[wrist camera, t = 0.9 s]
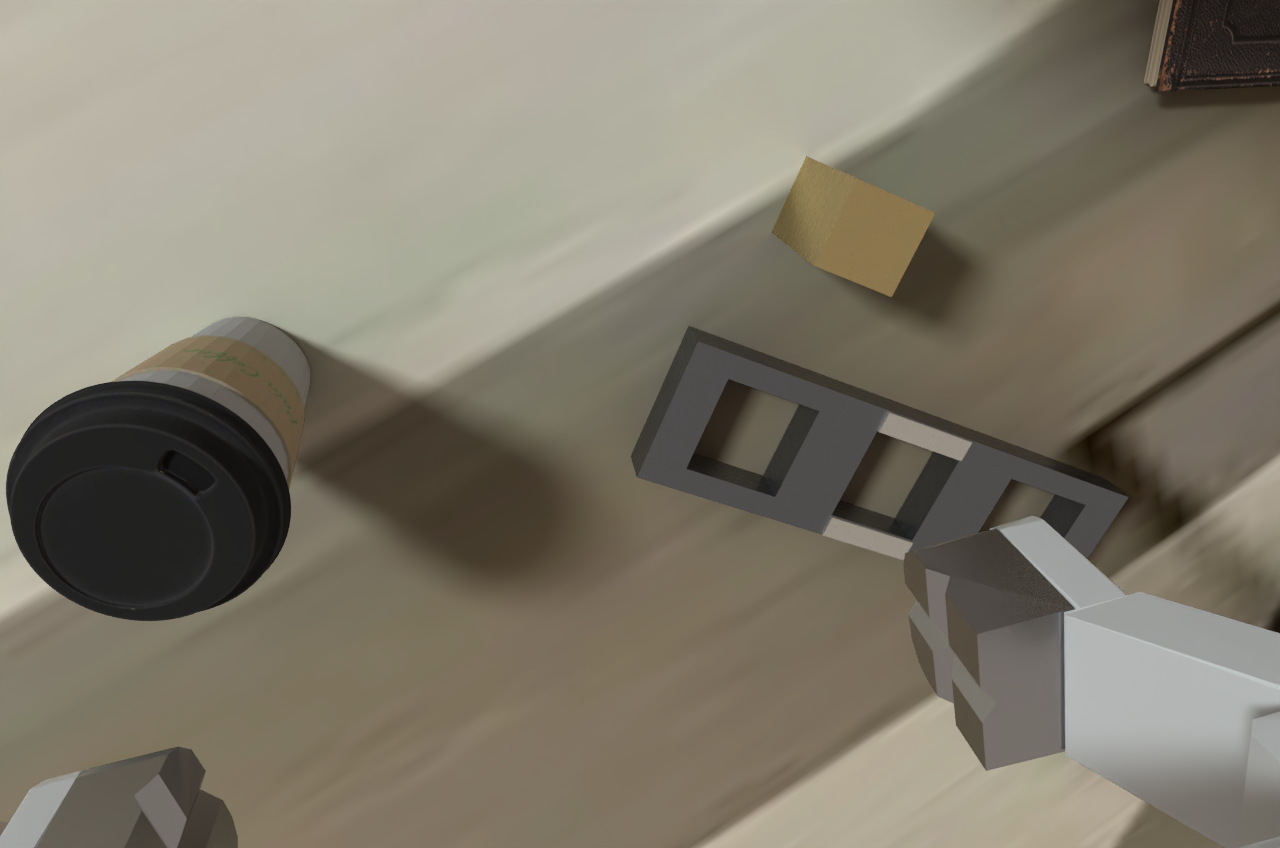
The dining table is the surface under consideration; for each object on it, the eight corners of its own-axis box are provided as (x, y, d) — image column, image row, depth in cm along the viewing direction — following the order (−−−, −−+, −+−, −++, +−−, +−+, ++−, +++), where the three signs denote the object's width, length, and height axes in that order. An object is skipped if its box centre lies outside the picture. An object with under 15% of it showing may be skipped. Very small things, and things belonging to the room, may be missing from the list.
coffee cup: (363, 312, 44) (301, 440, 30) (326, 477, 47) (255, 659, 34) (158, 257, 42) (-9, 371, 28) (134, 435, 45) (-26, 613, 31)
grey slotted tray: (688, 325, 47) (698, 342, 44) (1102, 477, 54) (1130, 498, 52) (630, 456, 49) (637, 479, 47) (1033, 583, 57) (1057, 608, 54)
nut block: (806, 156, 44) (857, 178, 38) (874, 186, 45) (935, 212, 39) (771, 232, 45) (814, 266, 39) (838, 259, 46) (891, 297, 40)
